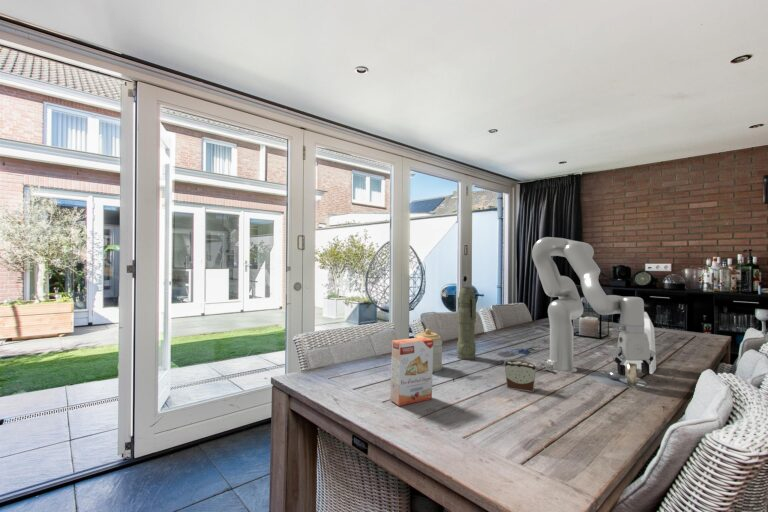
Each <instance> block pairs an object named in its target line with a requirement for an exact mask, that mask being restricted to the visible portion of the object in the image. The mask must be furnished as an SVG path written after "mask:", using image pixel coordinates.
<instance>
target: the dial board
mask: <svg viewBox="0 0 768 512" xmlns="http://www.w3.org/2000/svg"><path fill="white" fill-rule="evenodd" d="M588 378H590V379H592V380H593V381H595V382H597V383H601V384H604V385H608V386H614V387H619V388H628V389H629V388H630V389H638V388H639V389H641V388H645V387H646V386H648V383H647V382H646V381H645V380H644V379H641V378H639V377H637V385H636V386H631V385H628V384H626V383H625V382H622V381H620V380H616V379H611V378H609V377H608V371H594V372H593V371H592V372H590V373H588ZM626 378H627V373H626Z"/></svg>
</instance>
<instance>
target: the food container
mask: <svg viewBox="0 0 768 512" xmlns="http://www.w3.org/2000/svg"><path fill="white" fill-rule="evenodd" d="M502 367H504V370H505V371H504V373H505V381H506V382H505V383H506V388H507V389H513V390H518V391H525V392H534V391H535V390H534V389H535V382H536V381H535V380H536V373H537V372H538V371H539V370H538V366H537V364H536V363H535V362H533V361H530V360H526V359H519V358H515V359H514V358H513V359H512V358H511V359H509V358H508V359H506V360H504V362H503V365H502Z"/></svg>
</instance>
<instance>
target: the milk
mask: <svg viewBox="0 0 768 512" xmlns="http://www.w3.org/2000/svg"><path fill="white" fill-rule="evenodd" d="M644 333H646V334H647V337H648V341H649V347H650V350H652V351H654V352H655V356H654V357H653V358H654V359H653V360H652V361H651V364H649V373H650V374H649V375H653V374H654V372H656V369H657V356H656V337H655V336H656V335H655V327H654V324H653V322H652V320H651V318H650V316H649V314H648V312H647V311H644ZM627 362H632V363H636V364H637V370H640V371H641V363H642V362H643V361H642V360H636V361H629V360H626V362H625V363H624V364H623V365H625V368H627Z"/></svg>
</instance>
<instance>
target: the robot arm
mask: <svg viewBox="0 0 768 512" xmlns="http://www.w3.org/2000/svg"><path fill="white" fill-rule="evenodd" d="M594 255H595V251H594V248H593V246H592V245H591V244H590V243H587V242H583V241H578V240H573V239H567V238H563V237H554V236H553V237H551V236H545V237H541V238H539V239H538V240H537V241H536V242H535V243H534V245H533V247H532V250H531V257H532V261H533V264H534V266H535V268H536V271H537V275H538V276H539V280H540V282H541V285H542V288H543V291H544V293H545V294H546V296H548V297H550V298H558V299H555V300H553V301H552V302H550V303H549V305H548V308H547V316H548V321H549V322H548V323H549V358H547V360H545V361H543V360H539V361H538V365H539V366H540V367H541V366H542V367H543V366H544V367H545V369H546V370H547V371H549V372H551V373H555V374H557V372H560V373H562V372H563V373H575V372H577V371H578V369H577V368H576V367H574V333H575V332H574V326H573V323H572V321H573V320H577V319H579V318H580V317H582V315H583V313H584V304H583V301H582V299H581V297H580V293H579V292H578V289H577V286H576V283H575V282H574V281H573V279H571V278H570V277H569V276H566V275H561V274H560V271H559V269H558V266H557V264H556V262H555V261H554V260H553V258H552V257H557V256H558V257H562V258H563V257H564V258H566V259H567V261H568V263H569V264H570V266H571V268H572V269H573V271H574V272H575V273H576V275H577V277H578V278H579V280H580V287H581V291H582V293H583V296H584V297H585V299H586V301H587V302H588V304H589V305H590V307H591V309H592V310H594V311H595V312H596V313H597V314H599V315H601V316H607V315H608V316H609V315H615V314H617V315H618V314H619V315H620V326H618V330H619V331H620V332H619V334H618V339H617V348H615V350H613V351H611V352H610V356H611V357H612V359H613V361H614V362H615V363H616V365H617V371H618V374H620V375H622V376H625V373H626V367H625V365H623V364H624V363H625V362H626V360H629V361H636V360H642V361H643V362H642V363H641V370H640V371H641V374H644V375H646V376H650V375H651V374H650V373H649V364H651V361H652V360H653V359H654V358H653V357H654V356H655V354H656V351H655V352H654V351H652V350H650V347H649V341H648V337H647V334H646V333H644V312H645V302H644V299H643V298H641V297H639V296H621V295H617V294H609V295H607V294H606V293H605V291H604V289H603V288H602V286H601V284H600V281H599V276H600V274H601V269H600V267H599V266H598V264H597V262H596V261H595V260H594Z"/></svg>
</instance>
